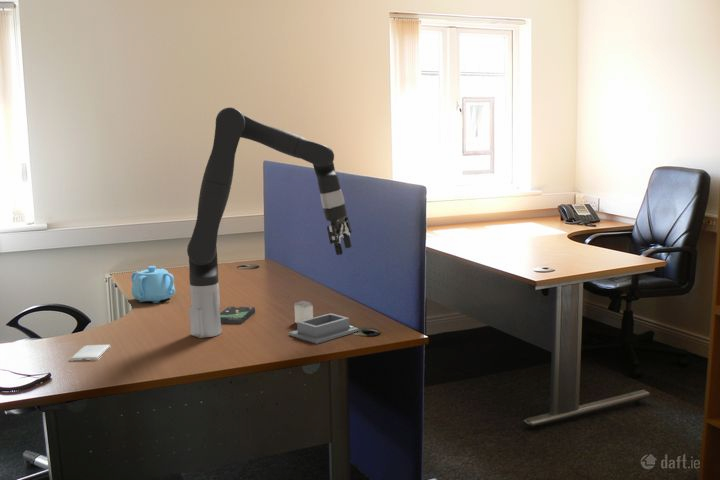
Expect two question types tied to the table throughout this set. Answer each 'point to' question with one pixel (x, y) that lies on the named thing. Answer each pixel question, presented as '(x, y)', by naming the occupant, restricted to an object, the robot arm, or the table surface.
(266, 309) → the table surface
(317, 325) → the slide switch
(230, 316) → the disk drive
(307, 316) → the block
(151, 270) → the decorative pot
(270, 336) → the table surface
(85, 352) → the hard drive
